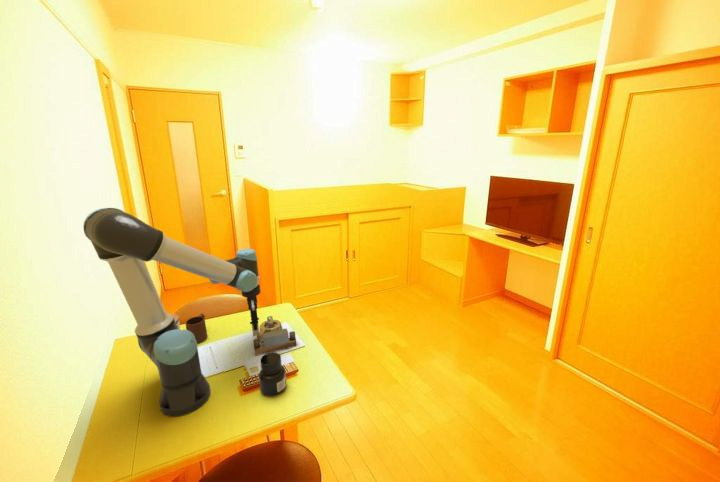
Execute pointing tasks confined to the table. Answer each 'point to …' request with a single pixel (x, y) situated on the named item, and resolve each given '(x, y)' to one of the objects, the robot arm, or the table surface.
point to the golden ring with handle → (265, 330)
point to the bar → (275, 338)
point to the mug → (197, 327)
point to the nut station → (270, 322)
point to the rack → (261, 350)
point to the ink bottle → (272, 375)
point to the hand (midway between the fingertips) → (256, 334)
